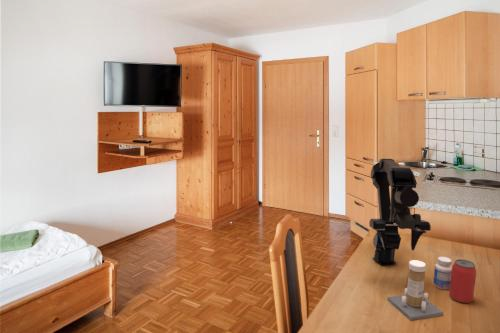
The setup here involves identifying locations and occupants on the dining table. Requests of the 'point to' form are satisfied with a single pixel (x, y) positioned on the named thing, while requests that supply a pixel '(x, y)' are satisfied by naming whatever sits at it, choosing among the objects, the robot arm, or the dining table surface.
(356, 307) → the dining table surface
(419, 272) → the sprinkles bottle
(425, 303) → the pin tray
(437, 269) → the pill bottle
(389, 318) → the dining table surface
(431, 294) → the dining table surface
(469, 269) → the beer can
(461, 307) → the dining table surface
